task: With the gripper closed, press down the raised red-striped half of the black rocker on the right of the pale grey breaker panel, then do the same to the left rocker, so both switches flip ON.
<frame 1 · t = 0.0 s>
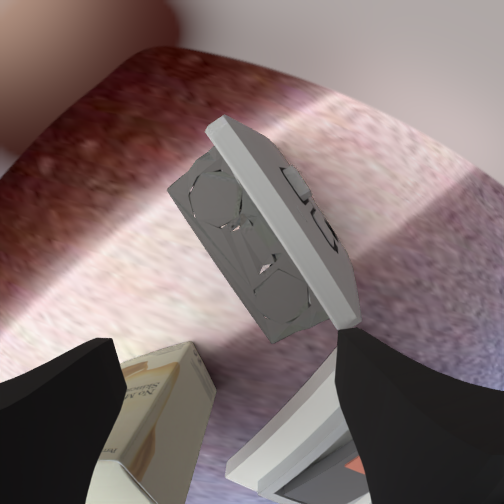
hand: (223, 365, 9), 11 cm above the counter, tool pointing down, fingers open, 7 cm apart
skincare box: (166, 376, 20), on the counter
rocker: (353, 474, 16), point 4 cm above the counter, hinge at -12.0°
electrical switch: (277, 227, 20), on the counter
breaker panel: (383, 459, 21), on the counter
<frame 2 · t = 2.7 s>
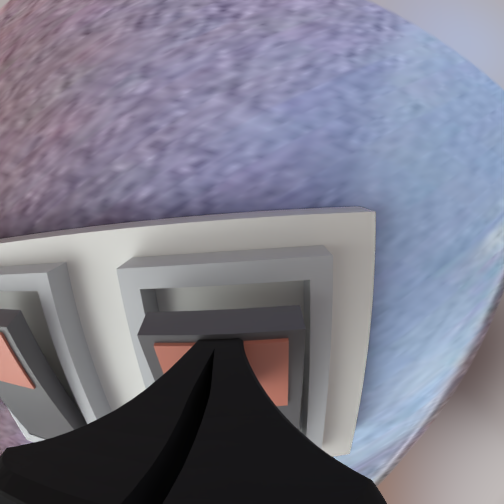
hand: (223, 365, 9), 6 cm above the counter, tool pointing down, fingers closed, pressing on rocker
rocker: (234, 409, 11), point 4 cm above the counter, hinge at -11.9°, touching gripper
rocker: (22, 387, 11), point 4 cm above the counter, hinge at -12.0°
breaker panel: (137, 353, 15), on the counter
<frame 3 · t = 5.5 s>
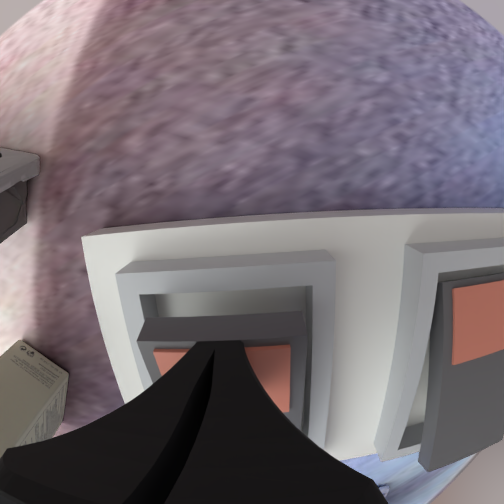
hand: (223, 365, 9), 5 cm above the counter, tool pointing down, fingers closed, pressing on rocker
skincare box: (42, 383, 16), on the counter
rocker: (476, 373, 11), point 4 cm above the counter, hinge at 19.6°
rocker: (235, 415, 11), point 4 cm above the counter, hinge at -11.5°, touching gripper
breaker panel: (347, 348, 15), on the counter
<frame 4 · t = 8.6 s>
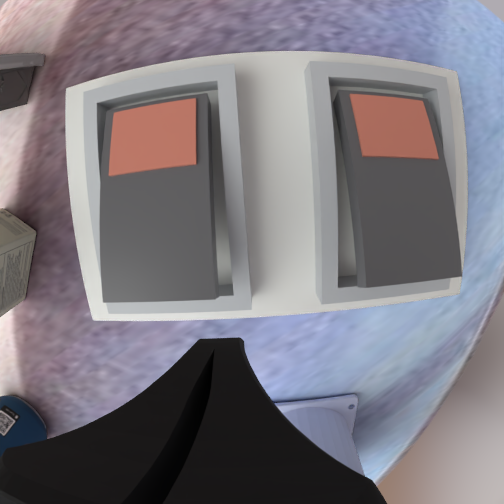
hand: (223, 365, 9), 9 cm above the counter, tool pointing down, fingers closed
skincare box: (13, 255, 18), on the counter
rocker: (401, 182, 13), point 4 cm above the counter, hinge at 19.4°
soda can: (26, 414, 23), on the counter
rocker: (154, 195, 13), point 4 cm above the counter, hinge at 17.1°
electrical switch: (4, 90, 15), on the counter
breaker panel: (275, 182, 17), on the counter
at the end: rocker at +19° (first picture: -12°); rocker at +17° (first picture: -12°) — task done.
